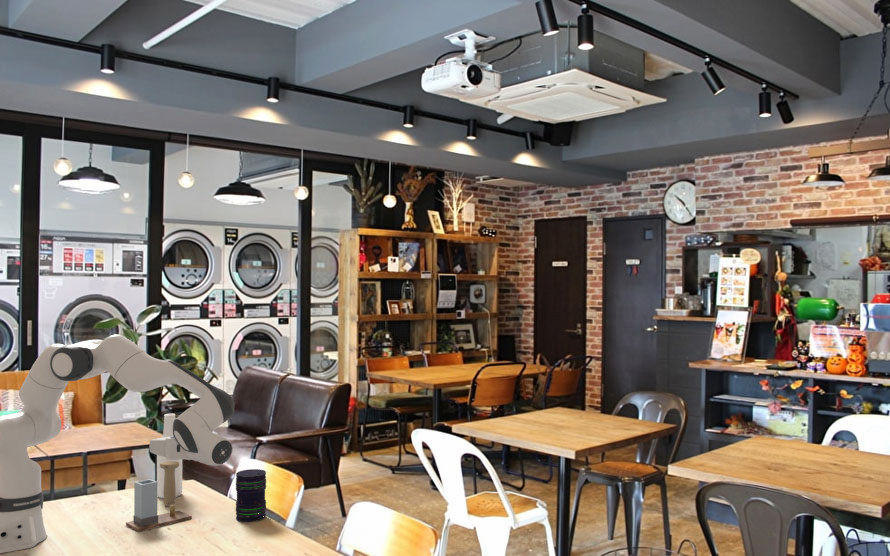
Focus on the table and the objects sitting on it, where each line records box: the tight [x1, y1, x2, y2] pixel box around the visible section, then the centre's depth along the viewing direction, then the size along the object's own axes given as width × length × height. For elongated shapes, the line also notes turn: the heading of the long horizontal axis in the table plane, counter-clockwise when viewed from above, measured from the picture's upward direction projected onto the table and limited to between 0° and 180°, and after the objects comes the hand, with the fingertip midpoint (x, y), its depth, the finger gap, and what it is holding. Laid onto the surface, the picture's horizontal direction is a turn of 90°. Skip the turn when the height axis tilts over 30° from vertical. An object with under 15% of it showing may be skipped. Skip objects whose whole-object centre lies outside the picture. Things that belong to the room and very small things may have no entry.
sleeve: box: [132, 478, 159, 526], centre depth 238 cm, size 6×6×13 cm
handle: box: [160, 461, 179, 508], centre depth 260 cm, size 5×6×15 cm
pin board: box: [125, 504, 193, 533], centre depth 242 cm, size 18×9×4 cm, turn 137°
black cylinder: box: [235, 468, 267, 523], centre depth 246 cm, size 10×10×15 cm
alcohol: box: [156, 413, 183, 500], centre depth 273 cm, size 9×9×30 cm
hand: (172, 438), depth 229 cm, fingers open, 8 cm apart
